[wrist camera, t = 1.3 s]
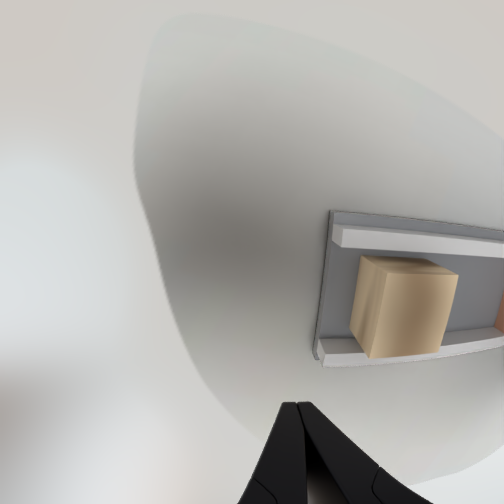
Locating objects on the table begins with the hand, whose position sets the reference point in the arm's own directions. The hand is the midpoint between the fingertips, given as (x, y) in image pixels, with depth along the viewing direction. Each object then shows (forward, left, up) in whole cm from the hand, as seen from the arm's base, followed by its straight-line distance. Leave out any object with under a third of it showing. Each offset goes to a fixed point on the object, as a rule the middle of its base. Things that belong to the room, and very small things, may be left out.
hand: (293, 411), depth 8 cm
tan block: (-8, 0, -11) cm, 13 cm away
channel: (-13, 0, -12) cm, 17 cm away
